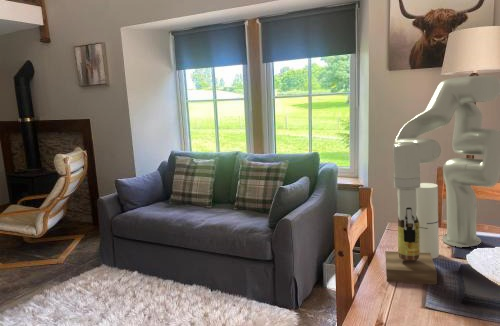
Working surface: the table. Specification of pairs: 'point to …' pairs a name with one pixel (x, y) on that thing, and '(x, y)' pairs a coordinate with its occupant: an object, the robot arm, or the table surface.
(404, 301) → the table surface
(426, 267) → the walnut plinth
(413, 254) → the sauce bottle
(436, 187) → the cylindrical container
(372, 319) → the table surface
